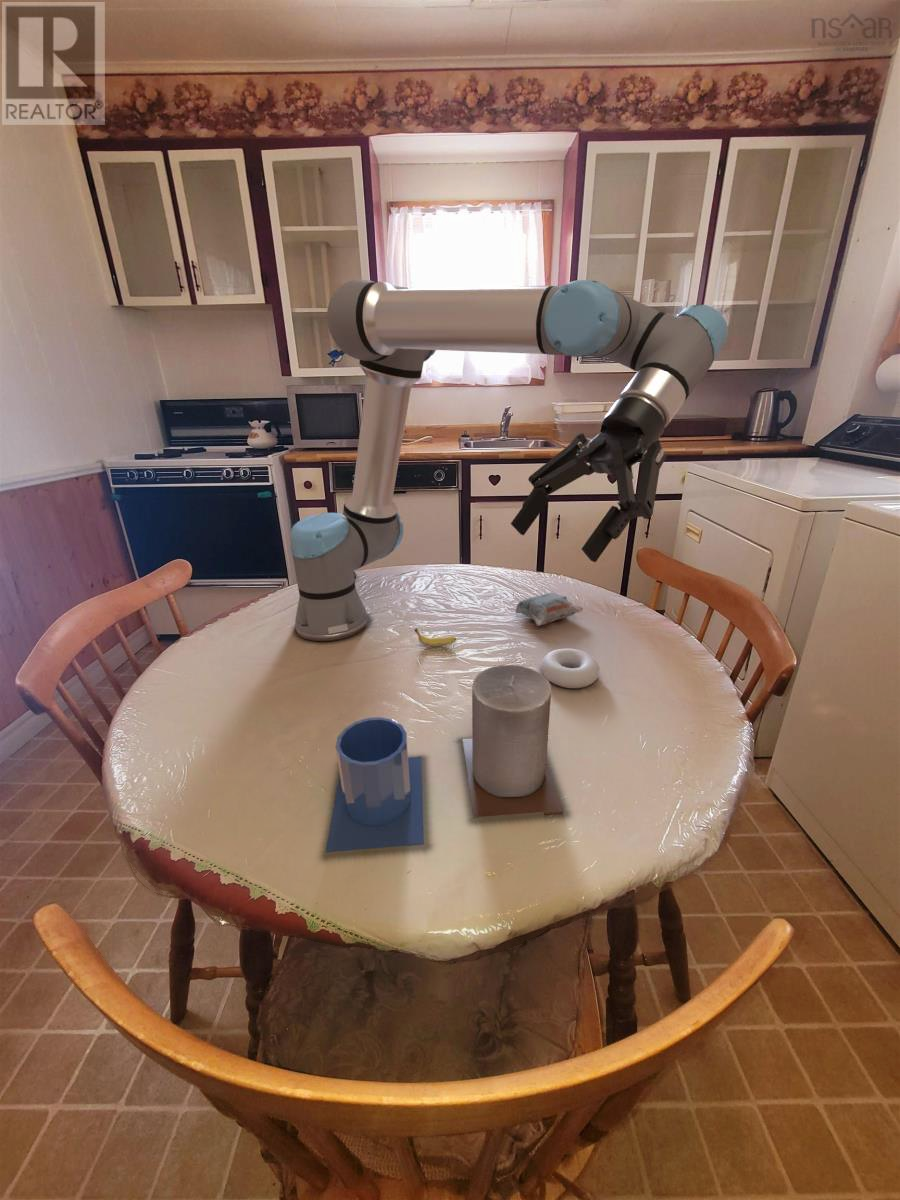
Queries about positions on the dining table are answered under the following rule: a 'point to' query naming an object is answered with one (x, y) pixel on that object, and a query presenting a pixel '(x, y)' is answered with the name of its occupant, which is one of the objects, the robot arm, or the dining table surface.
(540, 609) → the packaged food
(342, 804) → the blue mat
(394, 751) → the blue cup
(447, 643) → the banana
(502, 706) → the pillar candle
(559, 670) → the donut
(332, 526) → the robot arm
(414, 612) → the dining table surface
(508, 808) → the gray board
